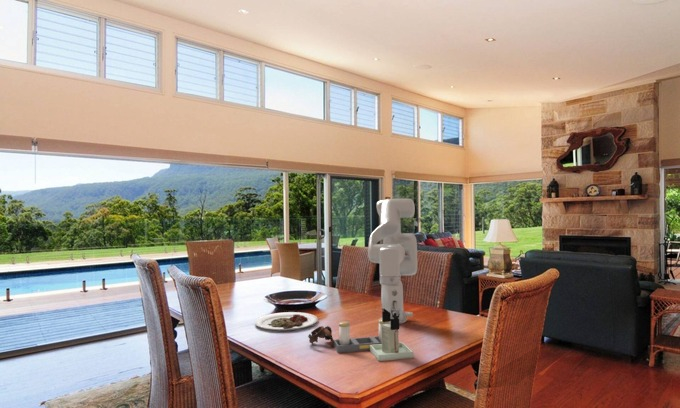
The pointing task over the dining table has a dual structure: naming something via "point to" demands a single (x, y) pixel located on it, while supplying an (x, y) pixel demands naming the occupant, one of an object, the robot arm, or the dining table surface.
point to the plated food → (286, 321)
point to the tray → (382, 356)
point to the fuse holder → (357, 344)
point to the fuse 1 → (344, 333)
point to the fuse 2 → (381, 329)
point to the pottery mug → (321, 335)
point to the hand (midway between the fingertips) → (390, 325)
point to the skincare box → (389, 339)
